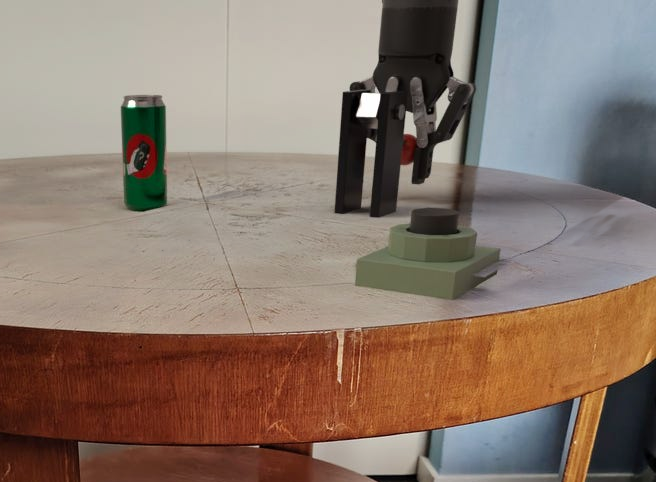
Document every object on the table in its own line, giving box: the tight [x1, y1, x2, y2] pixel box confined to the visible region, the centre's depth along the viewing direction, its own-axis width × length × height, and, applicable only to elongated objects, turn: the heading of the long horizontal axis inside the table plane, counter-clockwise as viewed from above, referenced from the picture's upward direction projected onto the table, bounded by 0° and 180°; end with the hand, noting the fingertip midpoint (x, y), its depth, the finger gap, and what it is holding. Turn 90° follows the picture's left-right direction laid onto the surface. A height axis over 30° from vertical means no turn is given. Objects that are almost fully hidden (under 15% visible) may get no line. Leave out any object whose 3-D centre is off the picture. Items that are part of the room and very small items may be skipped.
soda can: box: [120, 94, 168, 212], centre depth 103 cm, size 5×5×12 cm
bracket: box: [334, 90, 408, 219], centre depth 92 cm, size 9×11×13 cm
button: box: [409, 207, 460, 235], centre depth 70 cm, size 4×4×2 cm
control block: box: [354, 222, 501, 301], centre depth 72 cm, size 8×10×4 cm
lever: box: [356, 92, 418, 166], centre depth 94 cm, size 13×3×3 cm, turn 143°
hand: (401, 181), depth 100 cm, fingers closed on lever, 3 cm apart
